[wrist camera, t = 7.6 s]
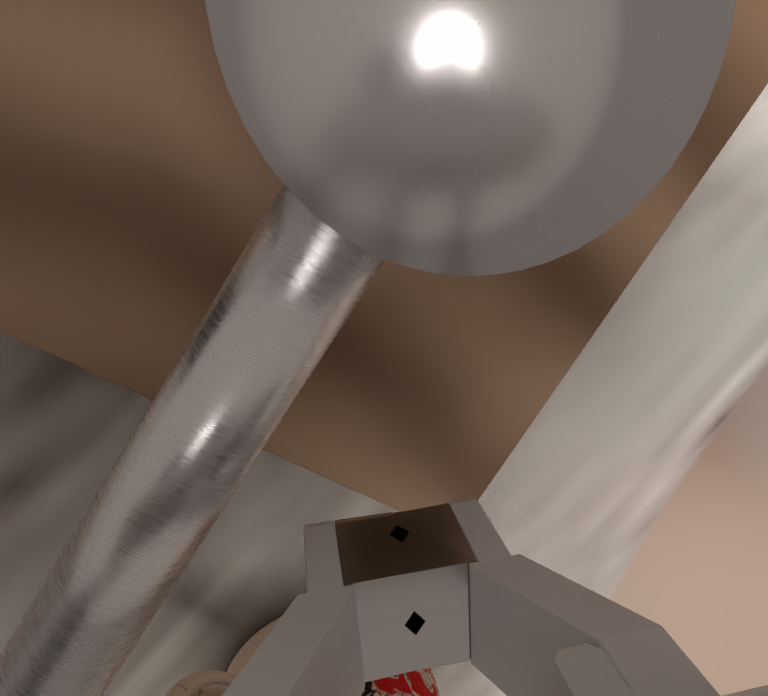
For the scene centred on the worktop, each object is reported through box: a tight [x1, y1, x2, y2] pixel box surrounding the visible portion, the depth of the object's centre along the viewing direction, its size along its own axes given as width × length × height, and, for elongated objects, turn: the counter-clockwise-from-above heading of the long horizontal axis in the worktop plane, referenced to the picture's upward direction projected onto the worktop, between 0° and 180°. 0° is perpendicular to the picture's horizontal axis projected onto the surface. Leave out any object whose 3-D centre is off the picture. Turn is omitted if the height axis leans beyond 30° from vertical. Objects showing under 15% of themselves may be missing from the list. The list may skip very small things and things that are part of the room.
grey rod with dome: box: [0, 0, 736, 696], centre depth 7 cm, size 20×6×3 cm, turn 146°
